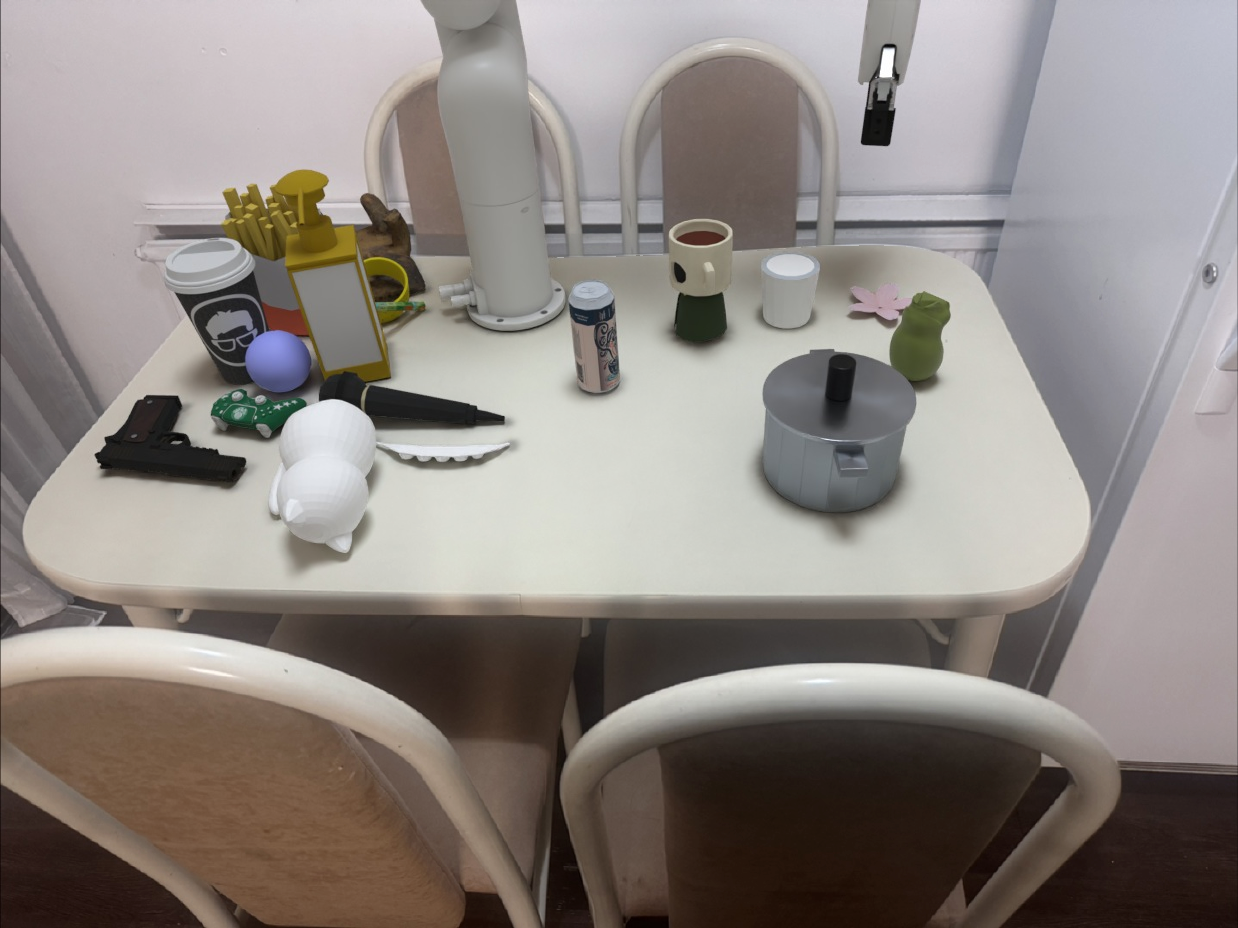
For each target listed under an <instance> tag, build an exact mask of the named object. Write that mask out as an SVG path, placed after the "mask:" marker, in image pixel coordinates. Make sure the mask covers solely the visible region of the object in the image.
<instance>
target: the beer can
mask: <svg viewBox="0 0 1238 928" xmlns="http://www.w3.org/2000/svg"><path fill="white" fill-rule="evenodd" d="M567 299H568V300H567V301H568V311H569V317H570V318H569V319H570V328H571V337H572V345H573V355H574V365H575V374H576V382H577V385H578V387H580V389H582V390H584V391H586V392H589V393H593V394H602V393H605V392H609V391H611V390H613V389H614V388H616V387H617V386H618V385H619V384H620V381H621V373H620V372H621V371H620V370H621V369H620V359H619V358H620V357H619V345H618V343H619V342H618V330H617V315H616V302H615V294H614V292H613V291H612V289H611V287H610V286H609V285H608V284H607V282H605V281H604V280H600V279H587V280H585V279H584V280H582V281H580V282H578V283H576V284H574V285H573V287H572V289H571V292H570V293H569V295H568V298H567Z"/></svg>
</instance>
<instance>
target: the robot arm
mask: <svg viewBox="0 0 1238 928" xmlns="http://www.w3.org/2000/svg"><path fill="white" fill-rule="evenodd" d="M420 2H421V5H422V6H423V8H424V9H425V10H426V12H427V13H428V14H429V15H430V16H431V17H432V18H433V21H434V26H435V29H436V33H437V37H438V41H439V45H440V49H441V53H442V59H441V63H440V68H439V71H438V78H437V88H436V94H437V95H436V96H437V106H438V112H439V118H440V122H441V126H442V130H443V133H444V137H445V140H446V145H447V149H448V153H449V157H450V162H451V167H452V171H453V172H452V173H453V176H454V177H453V178H454V182H455V186H456V192H457V193H456V194H457V196H458V201H459V207H460V212H461V217H462V222H463V227H464V233H465V238H466V243H467V249H468V255H469V260H470V265H471V270H469V271H468V272H469V278H466V279H463V280H462V282H459V283H454V284H452V283H449V284H445V285H439V286H437V287H438V292H439V296H440V300H441V302H446V301H447V302H448V301H451V306H452V308H459V307H463V306H466V310H467V313H468V316H469V318H470V319H471V320H472V321H473V322H474V323H476V324H477V325H479V326H481V327H483V328H486V329H490V330H493V331H494V330H495V331H502V332H503V331H506V332H508V331H509V332H512V331H523V330H529V329H531V328H534V327H538V326H541V325H544V324H546V323H548V322H549V321H552V320H553V319H554V318H555V317H557V316H558V315H559V314H560V313H561V312H562V311H563V309H564V307H565V306H566V303H567V301H566V300H567V298H566V290H565V288H564V287H563V285H561V283H560V282H558V281H557V280H555V279H554V278H552V277H551V267H550V260H549V252H548V251H549V250H548V245H547V235H546V227H545V220H544V219H545V218H544V211H543V202H542V196H541V195H542V194H541V186H540V179H539V172H538V164H537V155H536V149H535V140H534V133H533V125H532V116H531V115H532V114H531V106H530V105H531V104H530V103H531V102H530V93H529V74H528V58H527V52H526V47H525V41H524V37H523V31H522V26H521V21H520V15H519V9H518V4H517V0H420ZM921 2H922V0H867V5H866V11H865V19H864V27H863V34H862V44H861V52H860V59H859V68H858V76H857V82H858V84H859V85H860V86H864V83H868V88H867V96H866V102H865V107H864V114H863V121H862V129H861V137H860V144H861V145H862V146H871V147H889V146H890V145H891V144H892V143H891V142H892V137H893V136H892V135H893V129H894V124H895V117H896V111H897V107H895V102H896V97H897V90H898V89H897V88H898V87H900V86H901V85H903V84H904V82H905V78H906V74H907V71H908V66H909V61H910V59H911V58H910V57H911V55H912V50H913V46H914V42H915V41H914V40H915V35H916V30H917V25H918V20H919V15H920V9H921Z"/></svg>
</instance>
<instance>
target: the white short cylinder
mask: <svg viewBox="0 0 1238 928" xmlns="http://www.w3.org/2000/svg"><path fill="white" fill-rule="evenodd" d="M820 270H821V264H820V261H818V259H817V258H816V257H814V256H812V255H810V254H808V253H804V252H799V251H780V252H774V253H771V254H770V255H767V256H766V257H764V258H763V259H762V260H761V262H760V271H761V273H760V275H761V294H762V295H761V297H762V315H763V316H762V318H763V320H764V322H766V323H767V324H768V325H770V326H771V327H775V328H778V329H788V330H789V329H790V330H791V329H792V330H793V329H796V328H800V327H802V326H804V325H806V324H807V323H808V322H809V321H810V319H811V314H812V310H813V304H814V300H815V294H816V289H817V286H818V281H819V276H820Z"/></svg>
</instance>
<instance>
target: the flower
mask: <svg viewBox="0 0 1238 928" xmlns="http://www.w3.org/2000/svg"><path fill="white" fill-rule="evenodd" d="M850 291H851V293H852V294H853V296H854V297H855V298H856V299H857V300H858V301H859V302H856V303H853V304H850V305H849V306H848V307H847V309H849V310H851V311H853V312H854V311H855V312H863V313H876V314H877V315H879V316H881V317H882V318H884V319H886V320H888V321H892V320H896V319H898V318H899V316H900V312H899V310H904V309H905V307H906V306H909V305H910V304H911V302H912V298H913V297H901V298H898V297H897V296H898V294H899V286H898V284H897V283H891V282H887V283H884V284H883V285H881V286H880V287H879V288H878V289H877V290H876V293H873V292H872V291H870V290H868V289H866V288H863V287H860V286H855V285H853V286H852V287H850Z"/></svg>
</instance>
